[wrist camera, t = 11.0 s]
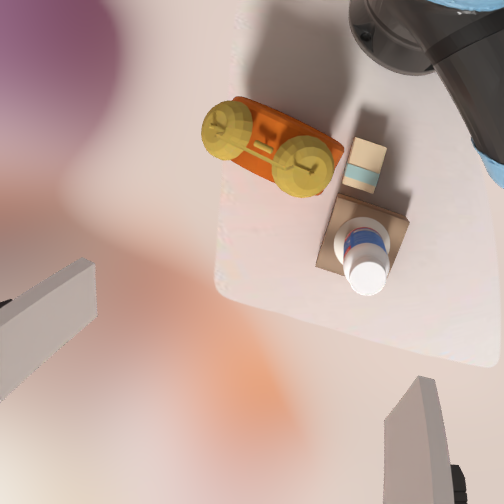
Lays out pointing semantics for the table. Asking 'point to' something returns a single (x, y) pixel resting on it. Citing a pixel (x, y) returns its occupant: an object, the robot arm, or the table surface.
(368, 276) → the pill bottle
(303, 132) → the alarm clock
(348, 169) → the carton
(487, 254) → the table surface
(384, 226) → the podium
